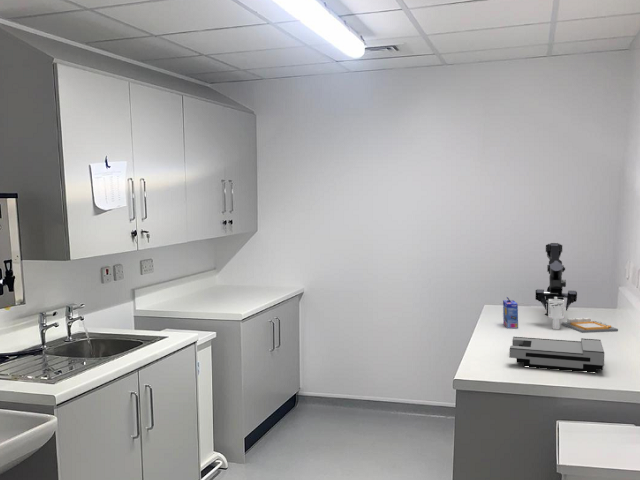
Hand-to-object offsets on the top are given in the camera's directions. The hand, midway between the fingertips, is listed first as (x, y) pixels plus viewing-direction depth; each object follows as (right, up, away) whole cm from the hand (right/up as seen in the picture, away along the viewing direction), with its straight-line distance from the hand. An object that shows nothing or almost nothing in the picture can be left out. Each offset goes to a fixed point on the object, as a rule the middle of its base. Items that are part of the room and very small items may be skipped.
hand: (556, 309), depth 280 cm
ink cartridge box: (-20, -9, +7) cm, 23 cm away
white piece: (0, -9, 0) cm, 9 cm away
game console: (-24, -14, -57) cm, 64 cm away
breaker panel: (+16, -9, +1) cm, 19 cm away
